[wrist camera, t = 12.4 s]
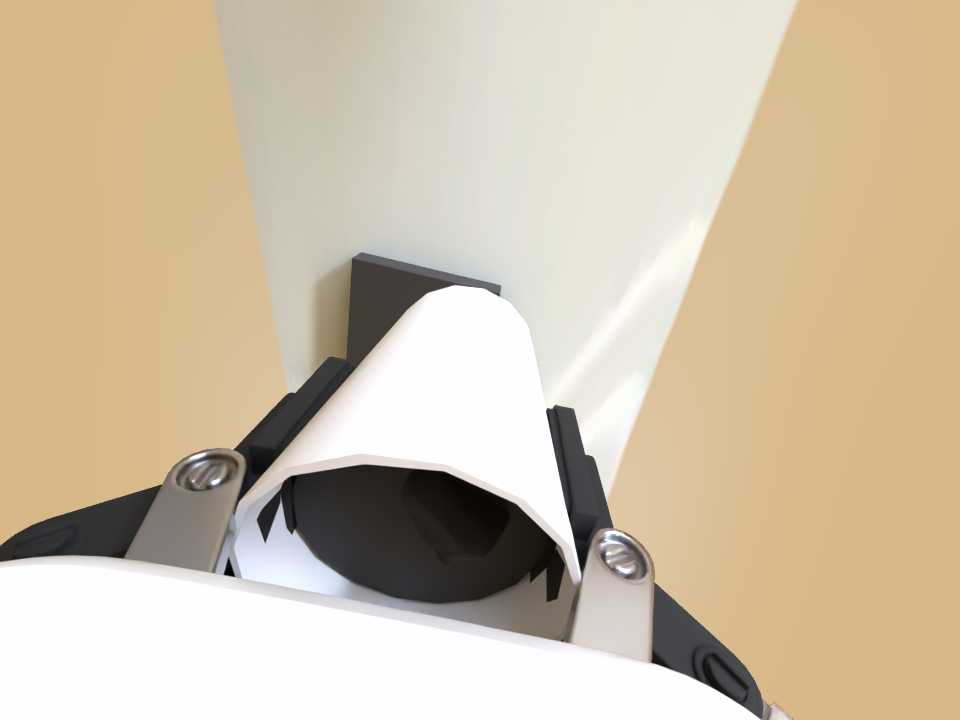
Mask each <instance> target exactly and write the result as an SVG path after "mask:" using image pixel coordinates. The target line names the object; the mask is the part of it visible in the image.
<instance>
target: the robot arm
mask: <svg viewBox="0 0 960 720" xmlns="http://www.w3.org/2000/svg"><path fill="white" fill-rule="evenodd" d="M354 370H355V367H354V366H350V361H349V360H344V359H340V358H335V357H329V358H327V360H326V361H325V362H324V363H323V364H322V365H321V366H320V367H319V368H318V369H317V370H316V371H315V373H314V374H313V375H312V376H311V377H310V378H309V379H308V380H307V381H306V382H305V383H304V384H303V386H302V387H301V388H300V389H299V390H298V391H297V392H296V393H288V394H287V395H286V396H285V397H284V398H283V399H282V400H281V401H280V402H279V403H278V404H277V405H276V406H275V407H274V408H273V409H272V410H271V411H270V412H269V413H268V415H266V417H265V418H264V419H263V420H262V421H261V422H260V423H259V424H258V425H257V426H256V427H255V428H254V429H253V430H252V431H251V432H250V433H249V434H248V435H247V436H246V437H245V438H244V439H243V441H242V442H241V443H240V444H239V445H238V446H237V447H236V448H235V449H234V450H231V449H224V448H215V449H206V450H203V451H200V452H197V453H194V454H191V455H189V456H187V457H185V458H183V459H182V460H181V461H179V462H178V463H177V464H176V465H174V466H173V468H172V469H171V470H170V472H169V473H168V475H167V477H166V479H165V481H164V483H163V484H162V485H159V486H155V487H152V488H149V489H146V490H142V491H139V492H136V493H132V494H129V495H126V496H122V497H119V498H116V499H112V500H109V501H106V502H103V503H99V504H96V505H93V506H89V507H86V508H83V509H79V510H76V511H73V512H70V513H66V514H63V515H60V516H56V517H53V518H50V519H47V520H45V521H42V522H39V523H36V524H34V525H31V526H30V527H28V528H26V529H24V530H22V531H21V532H19V533H17V534H15V535H14V536H13V537H11V538H10V539H8V540H7V541H6V542H4V543H3V544H2V545H1V546H0V720H794V719H793V718H792V717H790V716H789V715H788V714H787V713H786V712H785V711H784V710H783V709H782V708H780V707H779V706H778V705H777V704H776V703H775V702H774V703H772V704H771V705H770V706H769V705H768V704H767V703H766V702H765V701H764V700H763V699H762V697H761V693H760V691H759V689H758V687H757V685H756V682H755V680H754V679H753V677H752V676H751V674H750V673H749V671H748V670H747V668H746V667H745V666H744V665H743V664H742V663H741V661H740V660H739V659H738V658H737V657H736V656H735V655H734V654H733V653H732V652H731V651H730V650H728V649H727V648H726V647H725V646H724V645H723V644H722V643H721V642H720V641H719V640H717V639H716V638H715V637H714V636H713V635H712V634H711V633H710V632H709V631H708V630H706V629H705V628H704V627H703V626H702V625H701V624H700V623H699V622H697V620H695V619H694V618H693V617H692V616H691V615H690V614H689V613H688V612H687V611H686V610H684V609H683V608H682V607H681V606H680V605H679V604H677V602H676V601H675V600H673V599H672V598H671V597H670V596H669V595H668V594H667V593H666V592H665V591H664V590H662V589H661V588H660V587H659V586H658V585H657V584H656V583H655V582H654V577H655V571H654V564H653V561H652V559H651V557H650V555H649V553H648V552H647V550H646V549H645V548H644V546H643V545H642V544H641V543H639V542H638V541H637V540H636V539H635V538H634V537H632V536H631V535H629V534H627V533H626V532H623V531H621V530H617V529H614V528H613V524H612V520H611V517H610V513H609V510H608V506H607V502H606V498H605V495H604V491H603V488H602V484H601V480H600V477H599V473H598V469H597V466H596V462H595V460H594V458H593V457H592V456H589V455H585V452H584V448H583V444H582V440H581V436H580V432H579V428H578V424H577V420H576V416H575V412H574V409H572V408H567V407H562V406H558V405H555V406H554V407H553V409H549V408H548V409H547V410H546V414H547V419H548V424H549V429H550V434H551V439H552V444H553V449H554V454H555V459H556V464H557V468H558V473H559V478H560V483H561V488H562V492H563V497H564V502H565V506H566V510H567V514H568V518H569V522H570V526H571V530H572V534H573V539H574V543H575V548H576V553H577V557H578V562H579V567H580V572H581V579H582V583H581V584H580V586H579V588H578V590H577V592H576V593H575V594H574V597H573V601H572V606H571V610H570V614H569V618H568V623H567V627H566V631H565V635H564V639H562V640H561V641H556V640H551V639H546V638H541V637H536V636H531V635H526V634H521V633H516V632H511V631H506V630H502V629H497V628H492V627H487V626H482V625H477V624H472V623H467V622H462V621H457V620H452V619H447V618H442V617H437V616H432V615H427V614H422V613H417V612H412V611H407V610H401V609H396V608H391V607H386V606H381V605H376V604H371V603H366V602H361V601H356V600H350V599H345V598H340V597H335V596H330V595H325V594H320V593H314V592H309V591H304V590H299V589H294V588H288V587H283V586H278V585H273V584H267V583H262V582H257V581H252V580H246V579H241V578H236V577H235V574H234V571H233V568H232V565H231V562H230V559H229V553H230V550H231V546H232V543H233V539H234V536H235V532H236V523H235V513H236V510H237V506H238V503H239V501H240V500H241V499H242V498H243V497H244V496H245V494H246V493H247V492H248V491H249V490H250V489H251V488H252V486H253V485H254V484H255V483H256V482H257V481H258V480H259V478H260V477H261V476H262V475H263V474H264V473H265V472H266V471H267V469H268V468H269V467H270V466H271V465H272V464H273V463H274V461H275V460H276V459H277V458H278V457H279V456H280V455H281V453H282V452H283V451H284V450H285V449H286V448H287V447H288V445H289V444H290V443H291V442H292V441H293V440H294V439H295V437H296V436H297V435H298V434H299V433H300V432H301V431H302V429H303V428H304V427H305V426H306V425H307V424H308V423H309V421H310V420H311V419H312V418H313V417H314V416H315V415H316V413H317V412H318V411H319V410H320V409H321V408H322V407H323V406H324V404H325V403H326V402H327V401H328V400H329V399H330V398H331V396H332V395H333V394H334V393H335V392H336V391H337V390H338V388H339V387H340V386H341V385H342V384H343V383H344V382H345V380H346V379H347V378H348V377H349V376H350V375H351V374H352V372H353V371H354ZM297 476H298V475H292V476H290V477H288V478H287V479H286V480H284V481H283V484H282V487H281V489H280V490H279V491H278V492H277V493H276V494H275V495H274V496H273V498H272V499H271V500H270V501H269V502H268V503H267V504H266V505H265V506H264V507H263V508H262V510H261V512H260V514H259V516H258V518H257V523H258V525H259V528H260V531H261V534H262V536H263V539H264V542H265V543H266V541H267V538H268V535H269V532H270V530H271V527H272V524H273V521H274V519H275V516H276V513H277V510H278V508H279V505H280V502H281V501H282V506H283V512H284V518H285V523H286V528H287V529H288V531H289V532H290V533H291V535H292V534H293V532H294V530H295V529H296V527H297V521H296V516H295V510H294V505H293V500H292V492H291V490H292V488H293V485H294V483H295V480H296V478H297ZM280 495H281V497H280ZM556 545H557V543H556V542H555V541H554V540H553V539H552V538H551V537H550V536H549V535H548V539H547V542H546V546H545V549H544V551H543V553H542V556H541V558H540V560H539V562H538V564H537V565H535V566H534V567H533V568H532V569H531V570H530V583H531V582H532V581H533V580H534V579H535V578H536V577H537V576H538V575H540V574H541V573H542V572H543V571H544V570H545V569H546V568H547V569H546V600H547V602H550V601H553V600H557V599H558V594H559V590H560V586H561V582H562V577H563V573H564V569H565V563H564V562H563V560H562V558H561V556H560V554H559V552H558V550H557V549H556Z"/></svg>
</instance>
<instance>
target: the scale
mask: <svg viewBox="0 0 960 720" xmlns="http://www.w3.org/2000/svg"><path fill="white" fill-rule="evenodd" d="M455 285H456V286H464V287H473V288H481V289H485V290H487V291H489V292H491V293H493V294H494V295H496V296H498V297H500V291H501V286H500V285H496V284H492V283H488V282H484V281H479V280H475V279H471V278H467V277H463V276H458V275H454V274H450V273H446V272H441V271H437V270H433V269H429V268H425V267H420V266H416V265H412V264H408V263H404V262H399V261H395V260H391V259H387V258H383V257H378V256H374V255H370V254H366V253H360V254H358V255H357V256H355V257H354V258H352V273H351V290H350V308H349V325H348V343H347V360H349V361H350V366H354V367H355V369H356V368H357V367H358V366H359V364H360V363H361V362H362V361H363V360H364V359H365V358H366V356H367V355H368V354H369V353H370V352H371V351H372V350H373V348H374V347H375V346H376V345H377V344H378V343H379V342H380V341H381V339H382V338H383V337H384V336H385V335H386V334H387V333H388V331H389V330H390V329H391V328H392V327H393V326H394V325H395V323H396V322H397V321H398V320H399V319H400V318H401V317H402V315H403V314H404V313H405V312H406V311H407V310H408V309H409V308H410V307H411V306H412V305H414V304H415V303H416V302H417V301H418V300H420V299H421V298H422V297H423V296H425V295H426V294H427V293H429V292H433V291H436V290H440V289H444V288H447V287H451V286H455Z"/></svg>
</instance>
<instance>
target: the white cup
mask: <svg viewBox="0 0 960 720" xmlns="http://www.w3.org/2000/svg"><path fill="white" fill-rule="evenodd" d="M292 475H298V476H297V478H296V480H295V483H294V485H293V488H292V490H291V492H292V500H293V505H294V510H295V516H296V521H297V527H296V529H295V530H294V532H293V534H292V535H291V533H290V532H289V531H288V529H287V528H286V523H285V518H284V512H283V506H282V501H281V502H280V505H279V508H278V510H277V513H276V516H275V519H274V521H273V524H272V527H271V530H270V532H269V535H268V538H267V541H266V543H265V542H264V539H263V536H262V534H261V531H260V528H259V525H258V523H257V518H258V516H259V514H260V512H261V510H262V508H263V507H264V506H265V505H266V504H267V503H268V502H269V501H270V500H271V499H272V498H273V496H274V495H275V494H276V493H277V492H278V491H279V490H280V489H281V487H282V484H283V481H284V480H286V479H287V478H288V477H290V476H292ZM280 497H281V495H280ZM235 523H236V532H235V536H234V539H233V543H232V546H231V550H230V553H229V559H230V562H231V565H232V568H233V571H234V574H235V577H236V578H241V579H246V580H252V581H257V582H262V583H267V584H273V585H278V586H283V587H288V588H294V589H299V590H304V591H309V592H314V593H320V594H325V595H330V596H335V597H340V598H345V599H350V600H356V601H361V602H366V603H371V604H376V605H381V606H386V607H391V608H396V609H401V610H407V611H412V612H417V613H422V614H427V615H432V616H437V617H442V618H447V619H452V620H457V621H462V622H467V623H472V624H477V625H482V626H487V627H492V628H497V629H502V630H506V631H511V632H516V633H521V634H526V635H531V636H536V637H541V638H546V639H551V640H556V641H561V640H562V639H564V635H565V631H566V627H567V623H568V618H569V614H570V610H571V606H572V601H573V597H574V594H575V593H576V592H577V590H578V588H579V586H580V584H581V583H582V579H581V572H580V567H579V562H578V557H577V553H576V548H575V543H574V539H573V534H572V530H571V526H570V522H569V518H568V514H567V510H566V506H565V502H564V497H563V492H562V488H561V483H560V478H559V473H558V468H557V464H556V459H555V454H554V449H553V444H552V439H551V434H550V429H549V424H548V419H547V414H546V407H545V402H544V397H543V393H542V388H541V383H540V379H539V374H538V369H537V364H536V360H535V355H534V350H533V346H532V342H531V338H530V334H529V330H528V327H527V324H526V323H525V321H524V320H523V319H522V318H521V316H520V315H519V314H518V313H517V311H516V310H515V309H514V308H513V306H512V305H511V304H510V303H509V302H507V301H505V300H504V299H502V298H500V297H498V296H496V295H494V294H493V293H491V292H489V291H487V290H485V289H481V288H473V287H464V286H456V285H455V286H451V287H447V288H444V289H440V290H436V291H433V292H429V293H427V294H426V295H425V296H423V297H422V298H421V299H420V300H418V301H417V302H416V303H415V304H414V305H412V306H411V307H410V308H409V309H408V310H407V311H406V312H405V313H404V314H403V315H402V317H401V318H400V319H399V320H398V321H397V322H396V323H395V325H394V326H393V327H392V328H391V329H390V330H389V331H388V333H387V334H386V335H385V336H384V337H383V338H382V339H381V341H380V342H379V343H378V344H377V345H376V346H375V347H374V348H373V350H372V351H371V352H370V353H369V354H368V355H367V356H366V358H365V359H364V360H363V361H362V362H361V363H360V364H359V366H358V367H357V368H356V369H355V370H354V371H353V372H352V374H351V375H350V376H349V377H348V378H347V379H346V380H345V382H344V383H343V384H342V385H341V386H340V387H339V388H338V390H337V391H336V392H335V393H334V394H333V395H332V396H331V398H330V399H329V400H328V401H327V402H326V403H325V404H324V406H323V407H322V408H321V409H320V410H319V411H318V412H317V413H316V415H315V416H314V417H313V418H312V419H311V420H310V421H309V423H308V424H307V425H306V426H305V427H304V428H303V429H302V431H301V432H300V433H299V434H298V435H297V436H296V437H295V439H294V440H293V441H292V442H291V443H290V444H289V445H288V447H287V448H286V449H285V450H284V451H283V452H282V453H281V455H280V456H279V457H278V458H277V459H276V460H275V461H274V463H273V464H272V465H271V466H270V467H269V468H268V469H267V471H266V472H265V473H264V474H263V475H262V476H261V477H260V478H259V480H258V481H257V482H256V483H255V484H254V485H253V486H252V488H251V489H250V490H249V491H248V492H247V493H246V494H245V496H244V497H243V498H242V499H241V500H240V501H239V503H238V506H237V510H236V513H235ZM548 535H549V536H550V537H551V538H552V539H553V540H554V541H555V542H556V543H557V545H556V549H557V550H558V552H559V554H560V556H561V558H562V560H563V562H564V563H565V569H564V573H563V577H562V582H561V586H560V590H559V594H558V599H557V600H553V601H550V602H547V600H546V569H547V568H546V569H545V570H544V571H543V572H542V573H541V574H540V575H538V576H537V577H536V578H535V579H534V580H533V581H532V582H531V583H530V570H531V569H532V568H533V567H534V566H535V565H537V564H538V562H539V560H540V558H541V556H542V553H543V551H544V549H545V546H546V542H547V539H548Z"/></svg>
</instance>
